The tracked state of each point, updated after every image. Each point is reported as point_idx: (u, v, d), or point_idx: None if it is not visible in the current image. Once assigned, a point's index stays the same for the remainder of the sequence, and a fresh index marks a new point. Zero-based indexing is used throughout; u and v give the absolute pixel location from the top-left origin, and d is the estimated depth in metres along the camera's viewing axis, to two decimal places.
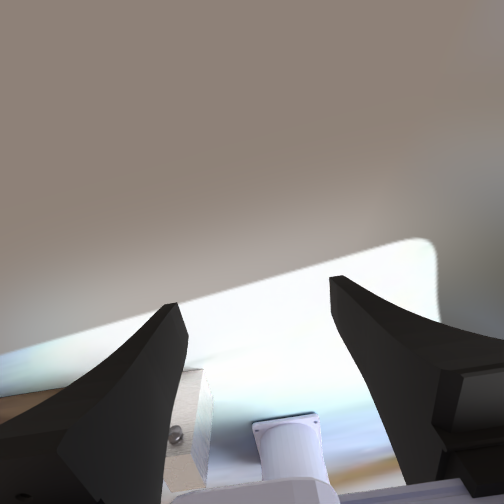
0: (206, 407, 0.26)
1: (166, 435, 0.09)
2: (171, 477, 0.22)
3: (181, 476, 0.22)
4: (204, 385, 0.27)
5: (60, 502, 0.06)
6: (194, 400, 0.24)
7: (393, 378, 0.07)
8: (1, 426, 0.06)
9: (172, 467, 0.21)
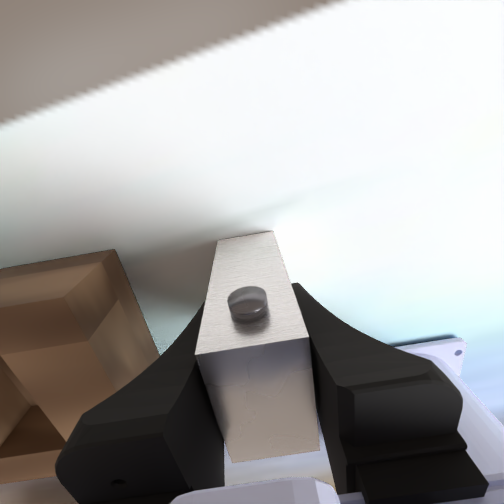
0: None
1: None
2: (239, 419, 0.08)
3: (265, 417, 0.08)
4: None
5: (153, 489, 0.06)
6: (274, 261, 0.11)
7: (321, 389, 0.07)
8: (89, 412, 0.06)
9: (247, 386, 0.07)
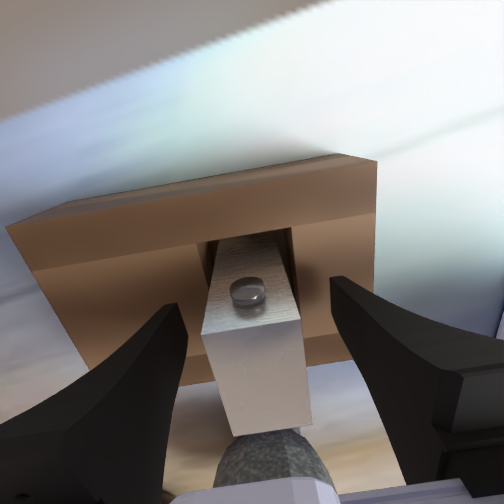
0: None
1: (166, 435, 0.09)
2: (240, 395, 0.09)
3: (263, 393, 0.09)
4: None
5: (60, 502, 0.06)
6: (271, 256, 0.12)
7: (393, 378, 0.07)
8: (1, 426, 0.06)
9: (247, 364, 0.08)
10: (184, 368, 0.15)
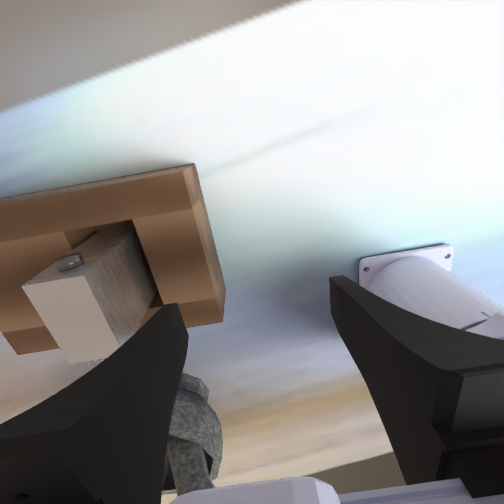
0: (143, 268, 0.18)
1: (166, 435, 0.09)
2: (63, 331, 0.13)
3: (78, 330, 0.13)
4: None
5: (60, 502, 0.06)
6: (117, 240, 0.16)
7: (393, 378, 0.07)
8: (1, 426, 0.06)
9: (60, 307, 0.13)
10: None
